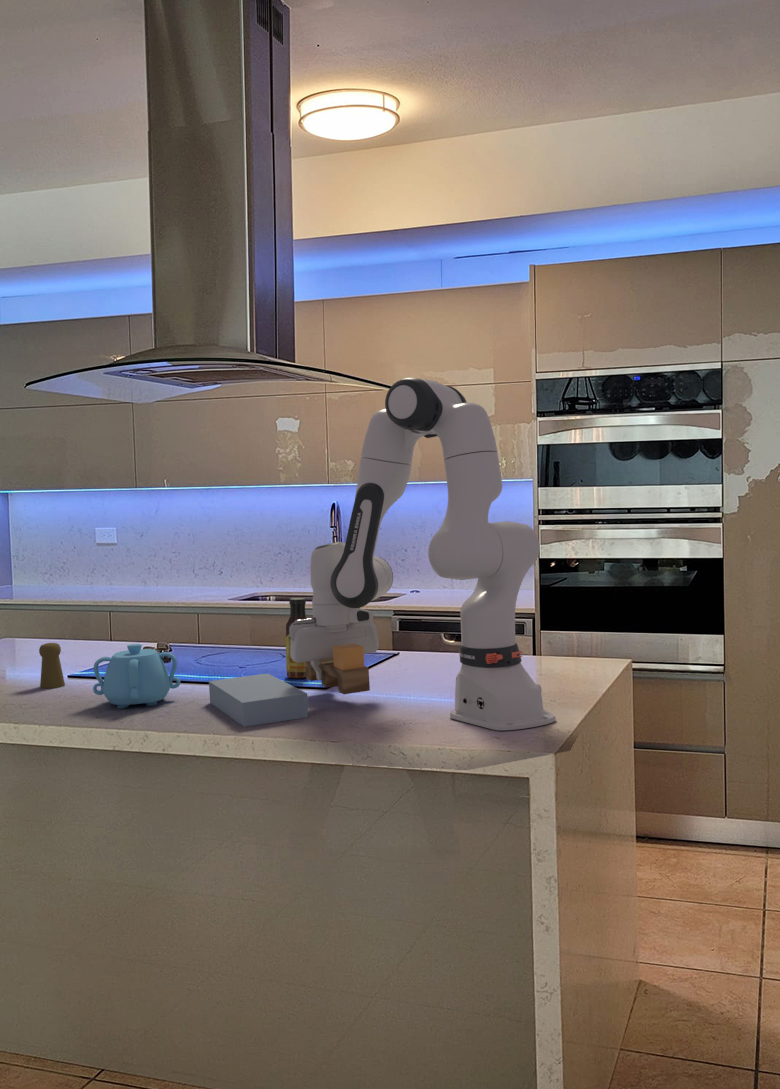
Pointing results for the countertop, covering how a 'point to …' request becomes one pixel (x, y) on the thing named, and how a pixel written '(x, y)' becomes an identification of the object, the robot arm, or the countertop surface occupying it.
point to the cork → (51, 666)
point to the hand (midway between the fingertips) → (336, 677)
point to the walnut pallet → (341, 677)
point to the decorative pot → (136, 677)
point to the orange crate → (348, 656)
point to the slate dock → (258, 699)
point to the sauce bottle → (296, 613)
